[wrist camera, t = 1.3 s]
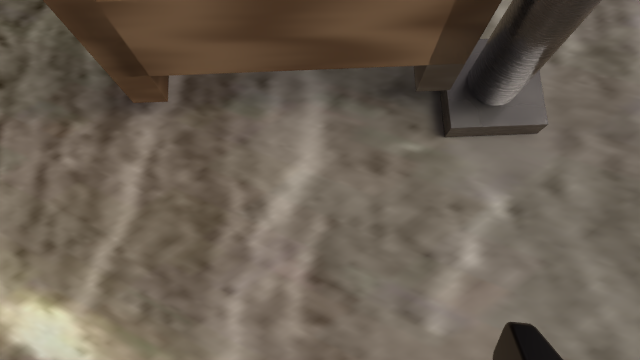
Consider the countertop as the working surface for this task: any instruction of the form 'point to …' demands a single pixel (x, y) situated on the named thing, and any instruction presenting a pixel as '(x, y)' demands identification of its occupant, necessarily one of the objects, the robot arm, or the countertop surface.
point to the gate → (273, 37)
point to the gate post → (511, 70)
